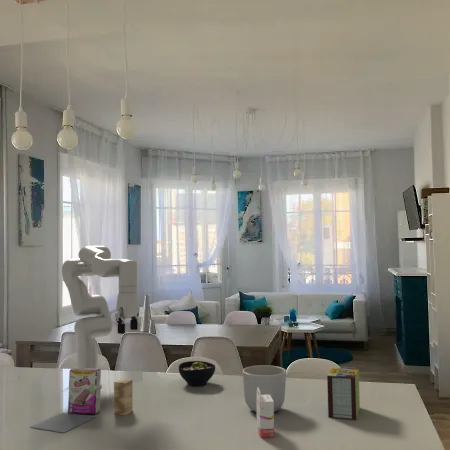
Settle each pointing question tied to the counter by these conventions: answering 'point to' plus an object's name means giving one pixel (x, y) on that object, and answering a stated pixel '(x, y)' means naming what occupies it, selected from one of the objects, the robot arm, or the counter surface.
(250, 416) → the counter surface
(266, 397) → the ink cartridge box
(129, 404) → the oak block
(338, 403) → the protein box
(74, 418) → the mat
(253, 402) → the planter
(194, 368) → the bowl
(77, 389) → the candy bar box
